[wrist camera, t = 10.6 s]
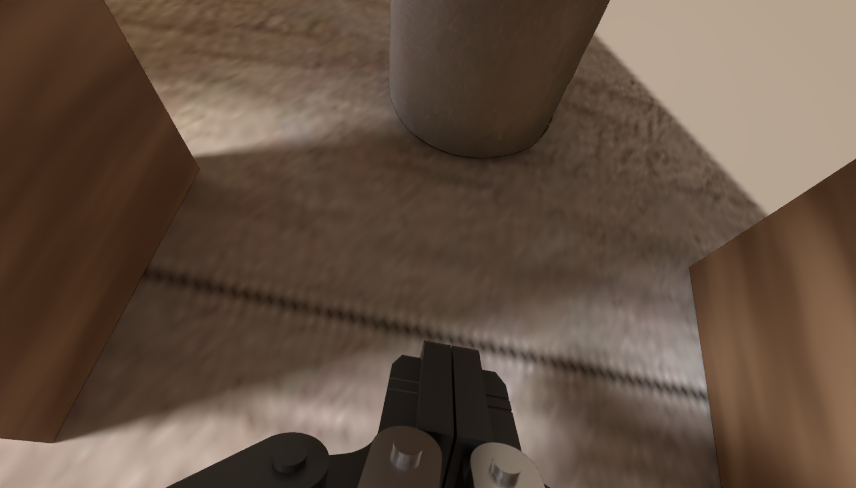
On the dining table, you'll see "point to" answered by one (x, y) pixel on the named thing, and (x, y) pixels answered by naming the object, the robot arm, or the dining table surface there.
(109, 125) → the wooden arch gate
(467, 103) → the pillar candle
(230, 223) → the dining table surface
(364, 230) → the dining table surface
